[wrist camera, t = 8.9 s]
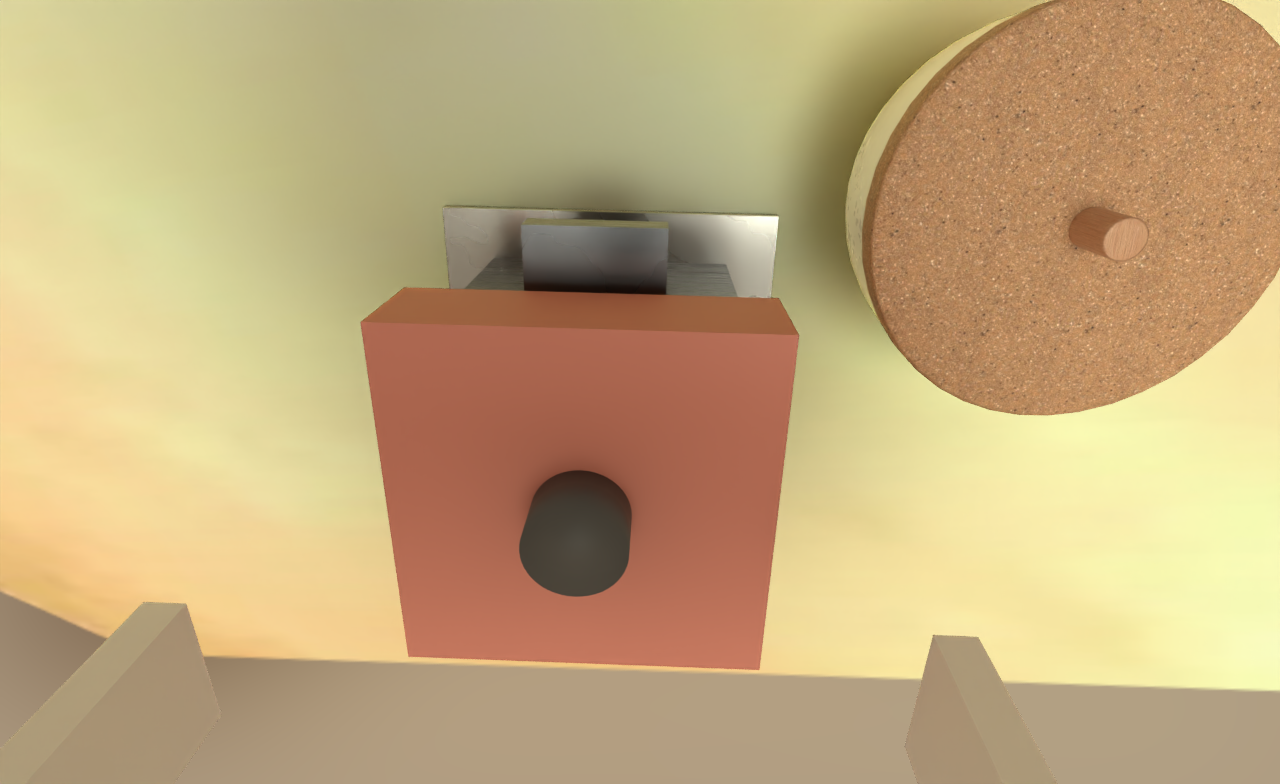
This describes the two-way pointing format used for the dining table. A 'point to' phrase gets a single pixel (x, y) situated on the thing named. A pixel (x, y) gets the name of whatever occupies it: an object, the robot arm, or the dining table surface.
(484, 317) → the lid
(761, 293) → the metal cube on plate
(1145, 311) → the lidded jar
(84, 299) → the dining table surface
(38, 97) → the dining table surface
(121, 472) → the dining table surface
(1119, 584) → the dining table surface
